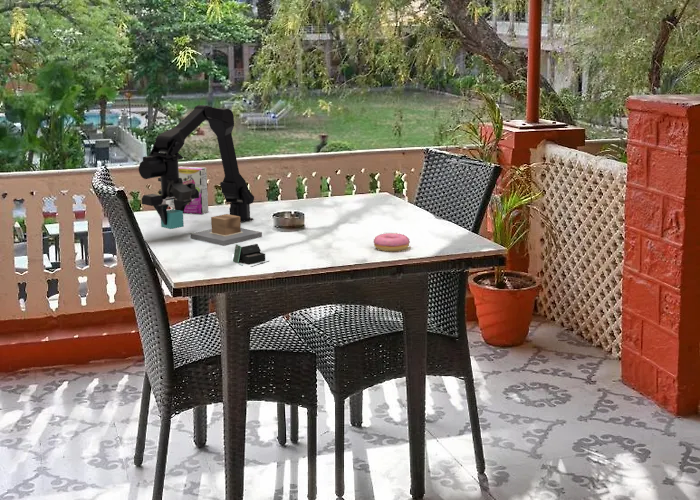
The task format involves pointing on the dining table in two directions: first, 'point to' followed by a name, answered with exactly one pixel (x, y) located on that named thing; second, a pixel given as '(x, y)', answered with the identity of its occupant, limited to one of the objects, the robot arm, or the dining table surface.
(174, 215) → the teal block
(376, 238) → the doughnut
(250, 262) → the dark stepped block
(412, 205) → the dining table surface
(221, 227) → the walnut block
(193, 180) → the candy bar box
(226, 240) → the base plate
